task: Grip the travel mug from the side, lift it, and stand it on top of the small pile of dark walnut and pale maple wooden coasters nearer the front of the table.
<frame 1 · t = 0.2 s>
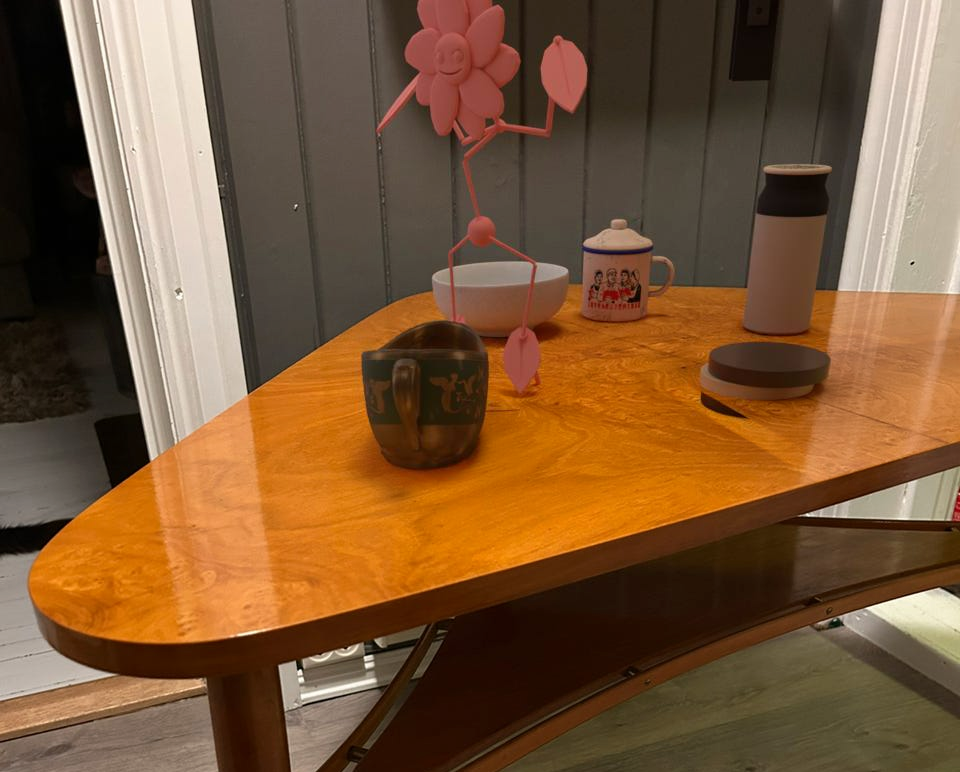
hand: (747, 80, 74), 27 cm above the table, tool pointing down, fingers open, 13 cm apart
cereal bowl: (501, 332, 119), on the table
cup: (428, 447, 82), on the table
travel mug: (775, 330, 116), on the table
teacup with lid: (625, 316, 124), on the table
figurine: (462, 392, 96), on the table
coaster pile: (758, 402, 90), on the table
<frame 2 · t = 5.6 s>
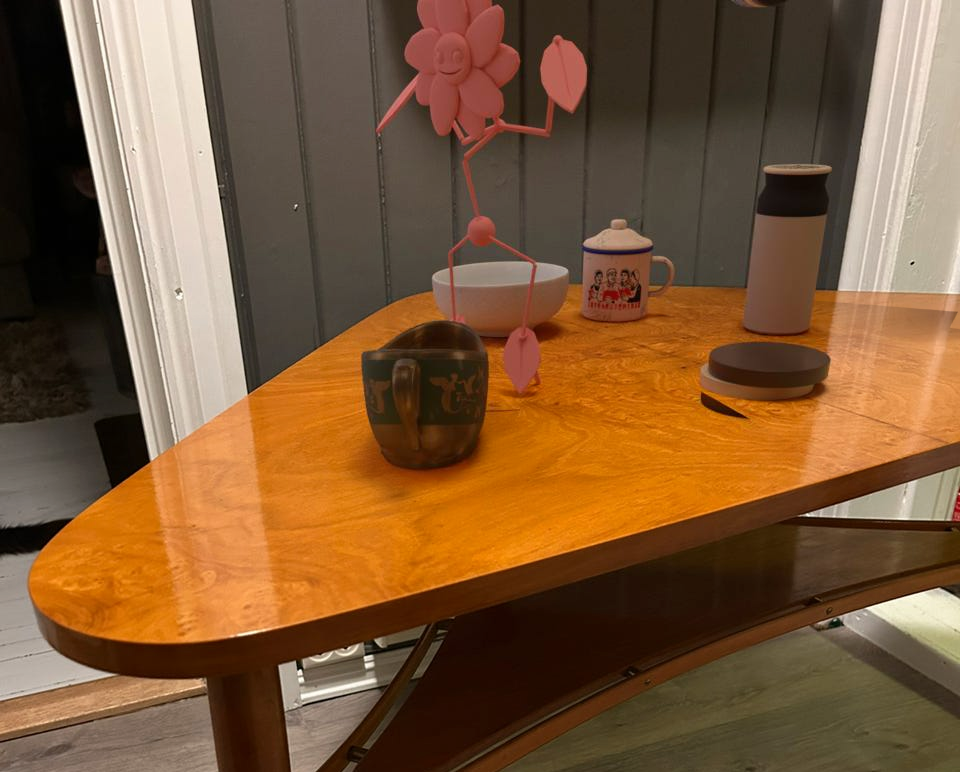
nothing on the table moved.
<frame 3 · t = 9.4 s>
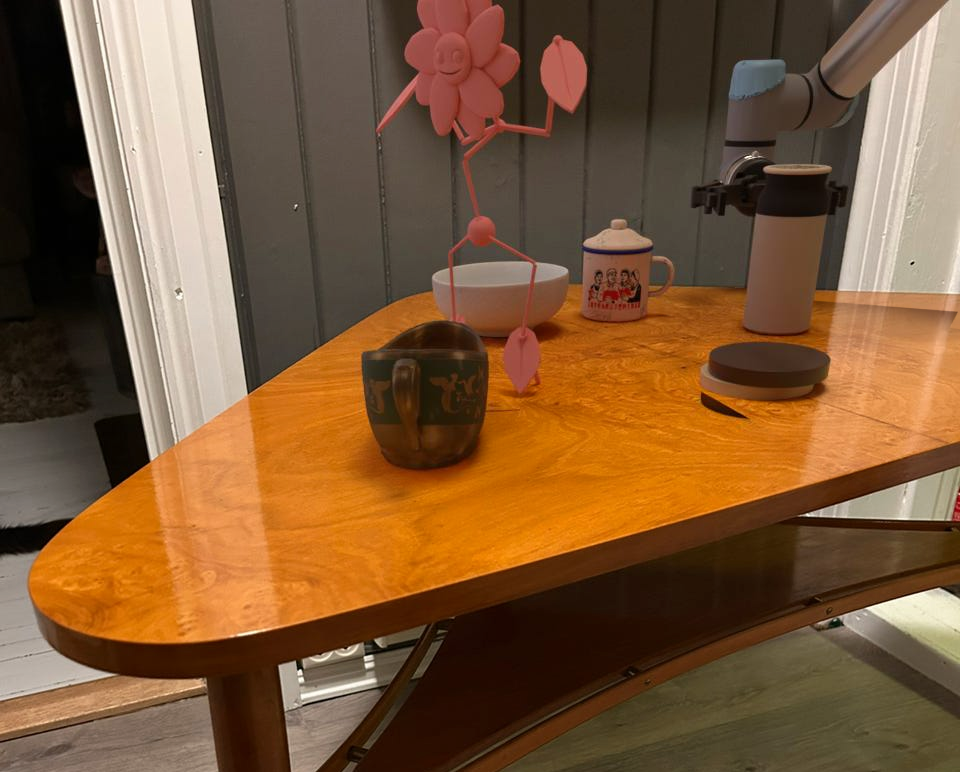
hand: (777, 203, 118), 13 cm above the table, tool horizontal, fingers open, 13 cm apart
nothing on the table moved.
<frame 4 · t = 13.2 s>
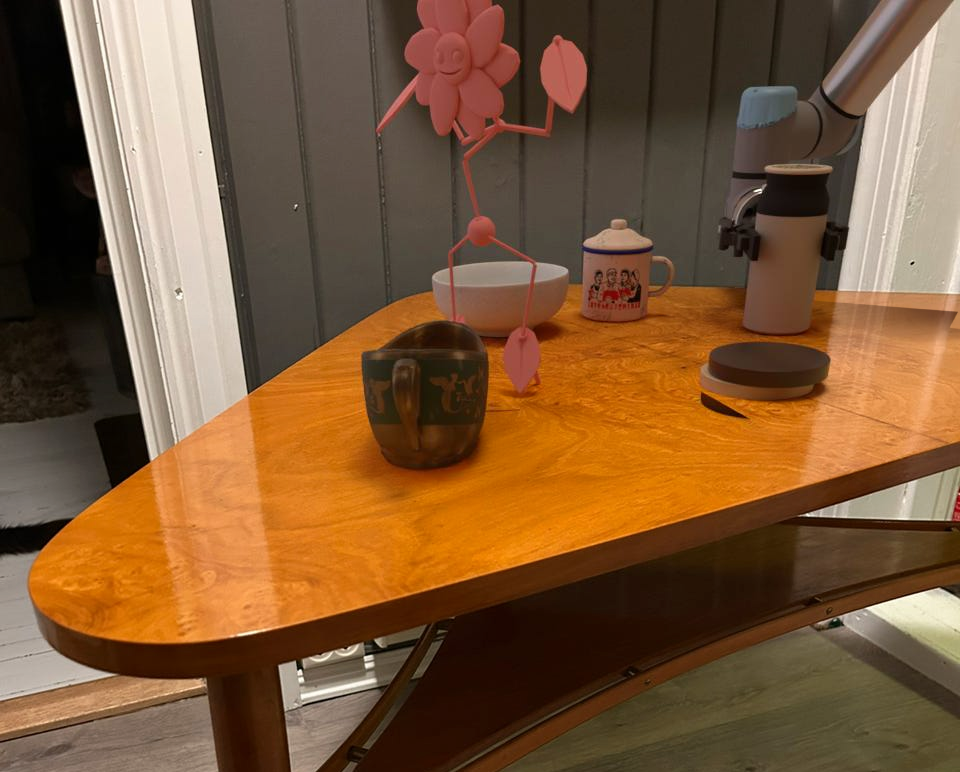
hand: (794, 248, 107), 10 cm above the table, tool horizontal, fingers closed on travel mug, 8 cm apart
travel mug: (775, 330, 116), on the table, touching gripper
everything else where it was.
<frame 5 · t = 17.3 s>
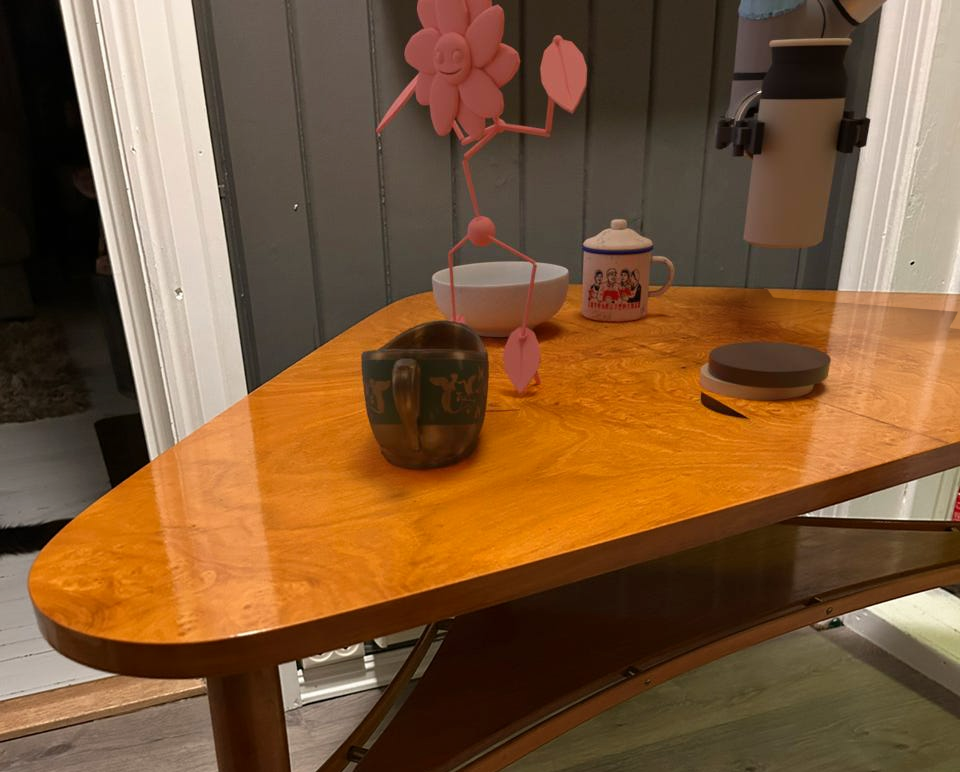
hand: (804, 137, 89), 22 cm above the table, tool horizontal, fingers closed on travel mug, 8 cm apart
travel mug: (781, 245, 98), point 12 cm above the table, touching gripper
everything else where it was.
when the fingers open (14 cm above the table, at t = 22.0 s): travel mug stays where it is, resting on coaster pile.
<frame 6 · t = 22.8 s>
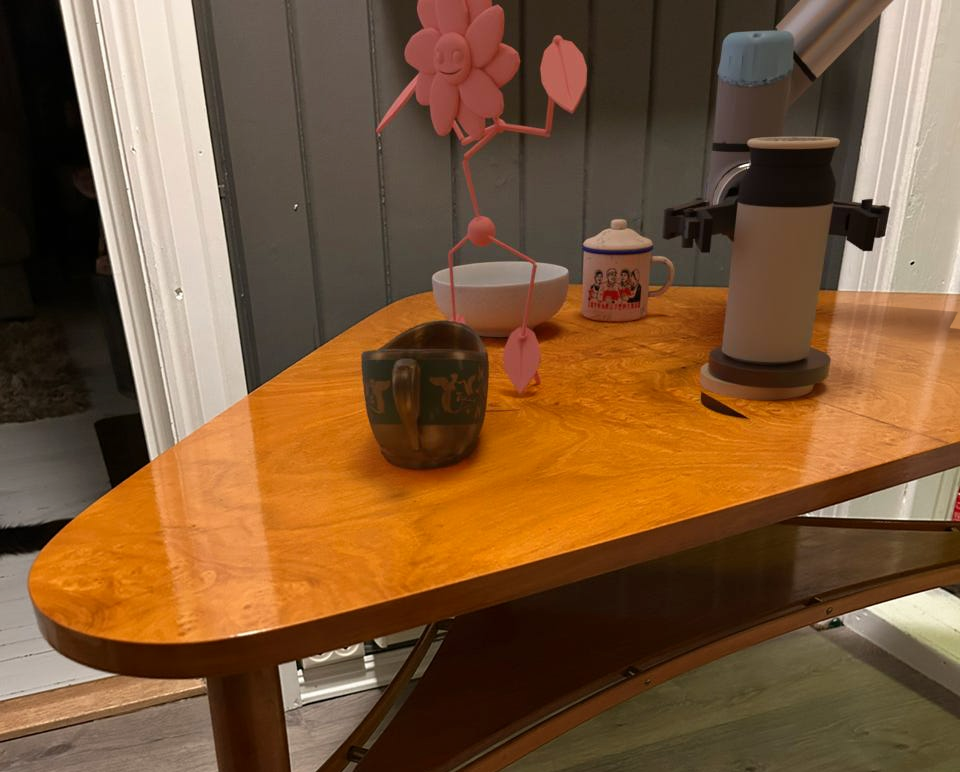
hand: (788, 235, 80), 15 cm above the table, tool horizontal, fingers open, 13 cm apart
travel mug: (764, 357, 88), point 4 cm above the table, touching coaster pile
everything else where it was.
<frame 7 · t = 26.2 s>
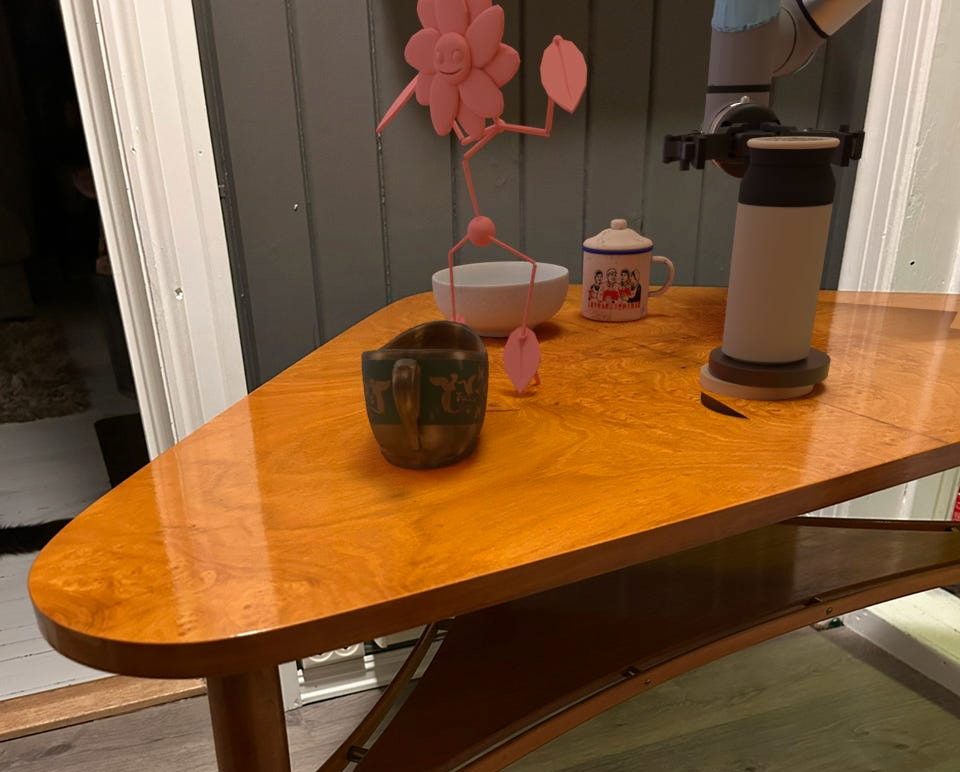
hand: (773, 152, 90), 21 cm above the table, tool horizontal, fingers open, 13 cm apart
nothing on the table moved.
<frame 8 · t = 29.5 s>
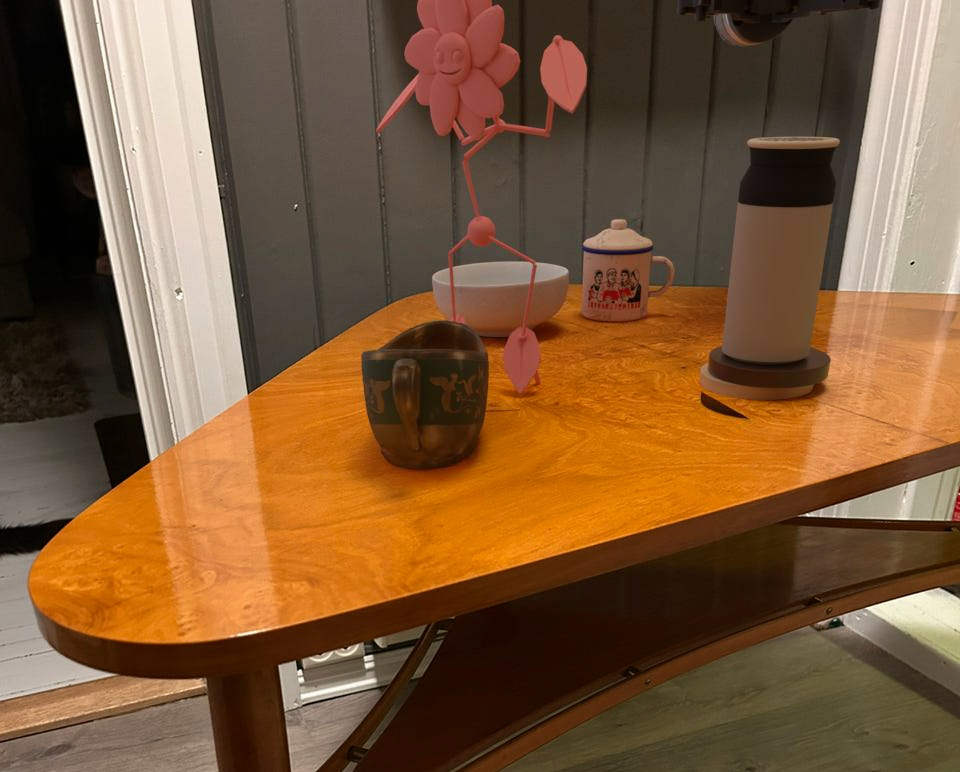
nothing on the table moved.
at the end: travel mug 0.0 cm off-centre on the coaster pile, point 4.3 cm above the coaster pile's base; travel mug tilted 0°; the gripper is holding nothing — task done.
